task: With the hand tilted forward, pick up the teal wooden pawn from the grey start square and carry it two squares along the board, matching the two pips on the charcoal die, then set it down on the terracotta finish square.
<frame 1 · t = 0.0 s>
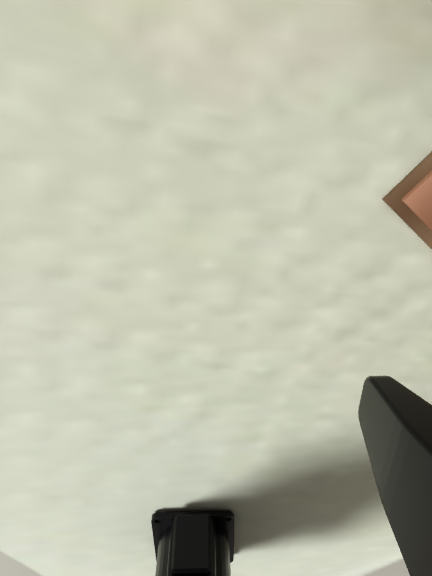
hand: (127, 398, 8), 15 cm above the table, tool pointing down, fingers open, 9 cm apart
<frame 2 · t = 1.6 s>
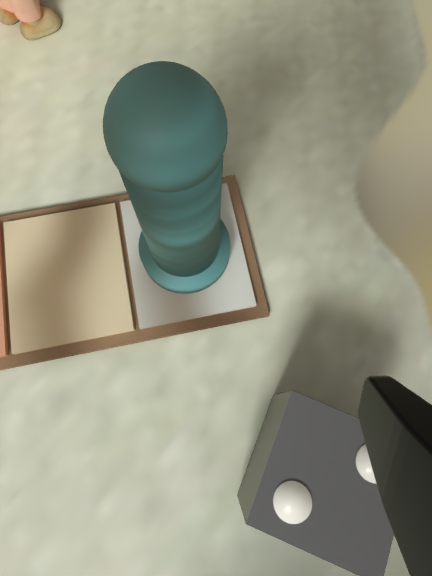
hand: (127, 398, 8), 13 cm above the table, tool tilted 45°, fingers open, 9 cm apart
die: (304, 464, 20), on the table
grandmother figurine: (24, 17, 28), on the table
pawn: (185, 251, 22), point 1 cm above the table, touching board
board: (69, 277, 22), on the table
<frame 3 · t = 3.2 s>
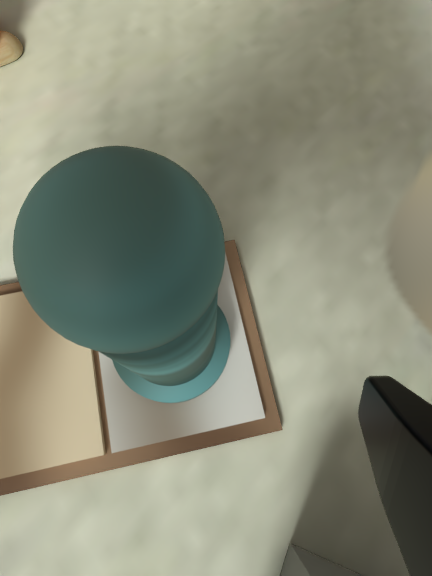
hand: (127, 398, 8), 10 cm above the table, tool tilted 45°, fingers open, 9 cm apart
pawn: (172, 344, 17), point 1 cm above the table, touching board
board: (23, 378, 17), on the table
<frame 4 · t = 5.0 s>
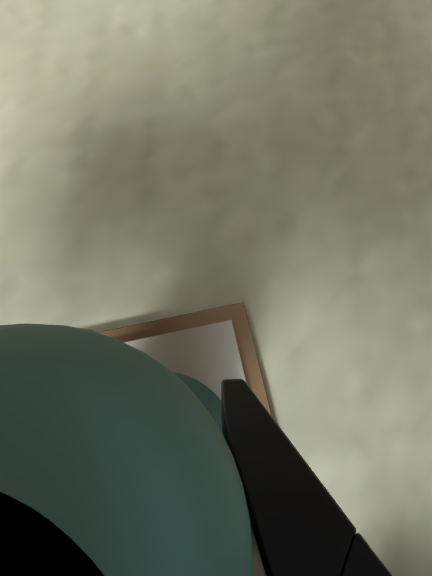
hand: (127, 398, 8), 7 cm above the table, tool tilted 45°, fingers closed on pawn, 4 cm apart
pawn: (162, 451, 13), point 1 cm above the table, touching board, gripper
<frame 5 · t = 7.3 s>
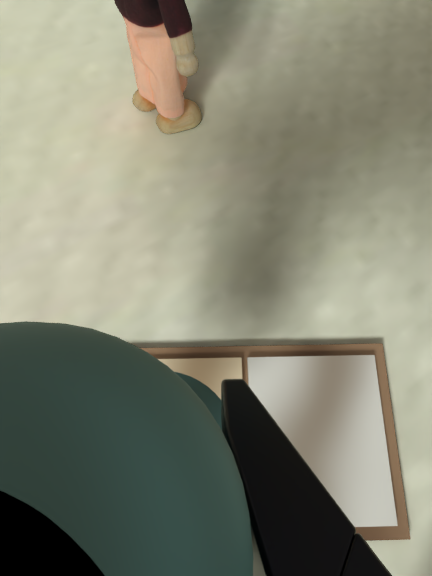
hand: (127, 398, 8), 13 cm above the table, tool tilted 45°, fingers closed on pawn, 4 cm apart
grandmother figurine: (161, 103, 25), on the table
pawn: (162, 450, 13), point 7 cm above the table, touching gripper
board: (177, 439, 19), on the table
when the fingers open (8 cm above the table, at t = 9.6 s): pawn drops 1 cm, resting on board.
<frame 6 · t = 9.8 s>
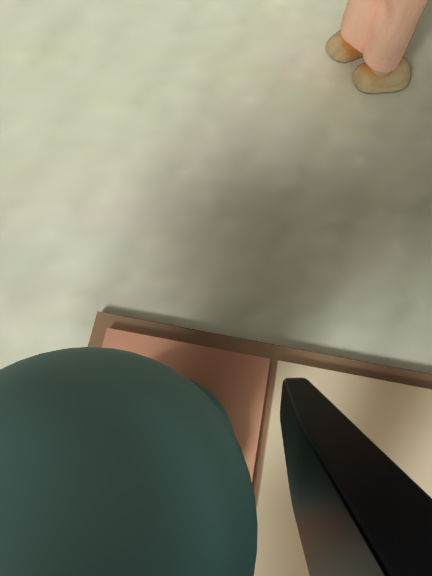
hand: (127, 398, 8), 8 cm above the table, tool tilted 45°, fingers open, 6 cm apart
grandmother figurine: (358, 56, 20), on the table
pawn: (164, 448, 14), point 1 cm above the table, touching board
board: (347, 483, 14), on the table
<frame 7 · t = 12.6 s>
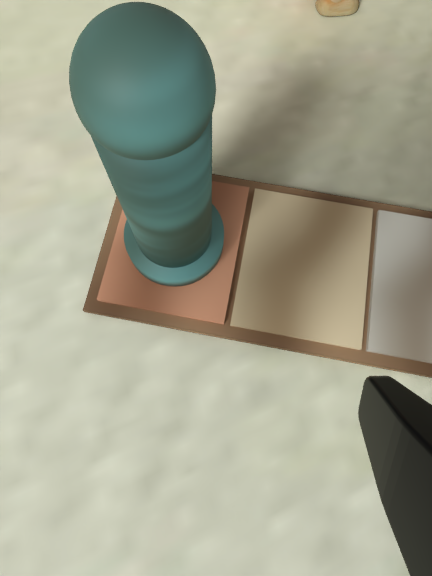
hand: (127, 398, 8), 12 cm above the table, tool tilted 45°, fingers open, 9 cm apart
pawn: (175, 240, 20), point 1 cm above the table, touching board
board: (302, 267, 21), on the table
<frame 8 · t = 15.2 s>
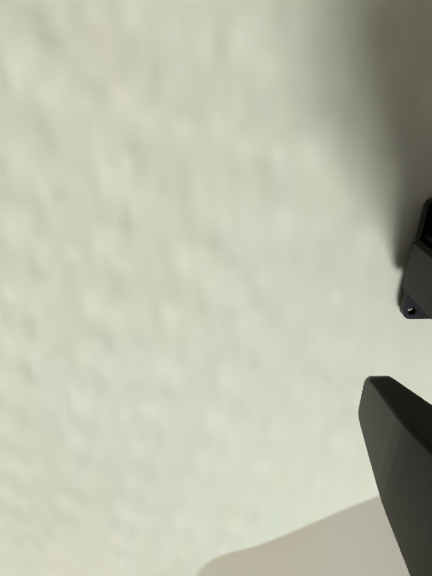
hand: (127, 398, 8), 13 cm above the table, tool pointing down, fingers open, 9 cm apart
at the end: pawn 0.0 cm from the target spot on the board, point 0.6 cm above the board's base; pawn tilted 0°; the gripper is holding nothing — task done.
